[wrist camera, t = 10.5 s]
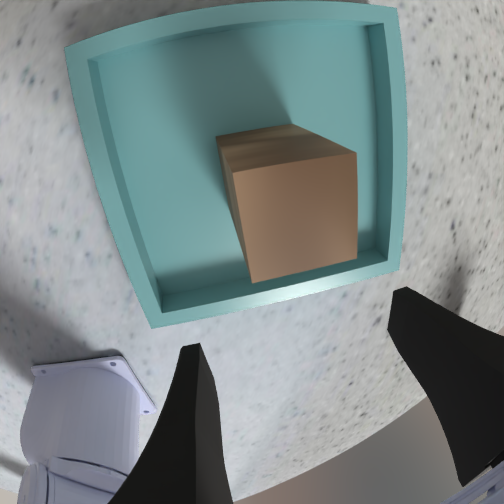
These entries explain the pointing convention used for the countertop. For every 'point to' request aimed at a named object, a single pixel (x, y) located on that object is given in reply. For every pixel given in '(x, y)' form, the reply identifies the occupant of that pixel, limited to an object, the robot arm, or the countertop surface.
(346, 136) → the tray
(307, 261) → the block
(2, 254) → the countertop surface
